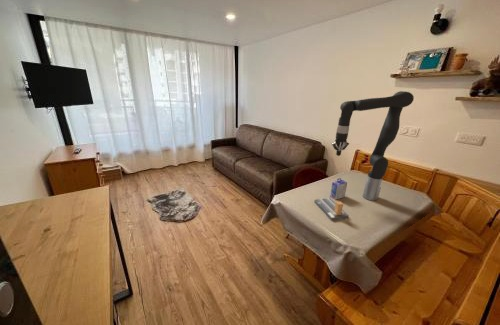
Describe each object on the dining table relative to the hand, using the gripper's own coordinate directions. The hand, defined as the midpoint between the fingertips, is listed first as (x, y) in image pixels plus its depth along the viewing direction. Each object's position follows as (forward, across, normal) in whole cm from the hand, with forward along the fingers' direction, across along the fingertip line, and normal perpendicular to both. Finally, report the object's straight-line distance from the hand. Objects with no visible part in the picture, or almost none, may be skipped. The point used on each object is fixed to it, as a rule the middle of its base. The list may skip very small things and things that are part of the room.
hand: (338, 155), depth 146 cm
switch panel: (+31, -14, -20) cm, 39 cm away
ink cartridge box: (+31, +1, -6) cm, 32 cm away
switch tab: (+29, -14, -28) cm, 42 cm away
